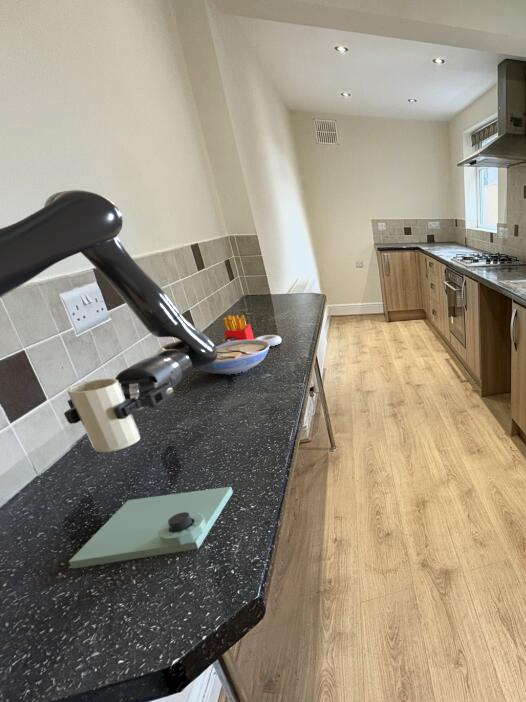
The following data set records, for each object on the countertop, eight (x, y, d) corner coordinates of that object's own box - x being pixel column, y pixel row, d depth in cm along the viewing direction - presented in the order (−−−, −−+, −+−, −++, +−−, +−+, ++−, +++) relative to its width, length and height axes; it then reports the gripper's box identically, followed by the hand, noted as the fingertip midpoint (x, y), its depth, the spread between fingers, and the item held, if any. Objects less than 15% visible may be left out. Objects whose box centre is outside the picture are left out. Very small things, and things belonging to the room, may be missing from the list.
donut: (254, 351, 152) (284, 346, 157) (251, 342, 150) (282, 338, 155) (252, 345, 159) (280, 340, 164) (249, 336, 158) (278, 332, 163)
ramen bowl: (245, 386, 121) (238, 360, 118) (170, 386, 121) (160, 360, 118) (290, 358, 144) (285, 336, 141) (226, 358, 144) (219, 336, 141)
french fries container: (230, 359, 143) (218, 320, 138) (236, 352, 151) (225, 314, 145) (253, 357, 145) (242, 318, 140) (257, 350, 153) (248, 313, 148)
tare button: (168, 534, 61) (164, 525, 61) (176, 522, 64) (173, 513, 63) (187, 531, 62) (184, 522, 61) (195, 519, 64) (192, 510, 64)
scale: (70, 570, 58) (61, 554, 57) (130, 506, 71) (124, 492, 70) (199, 549, 62) (193, 534, 61) (234, 492, 75) (230, 478, 74)
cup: (85, 454, 68) (57, 394, 64) (108, 436, 73) (84, 380, 69) (127, 449, 69) (103, 390, 65) (147, 432, 75) (125, 377, 70)
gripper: (100, 364, 79) (29, 399, 64) (186, 358, 82) (137, 391, 67) (115, 399, 82) (50, 441, 66) (197, 392, 85) (153, 431, 70)
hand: (94, 416), depth 67 cm, fingers closed on cup, 6 cm apart
